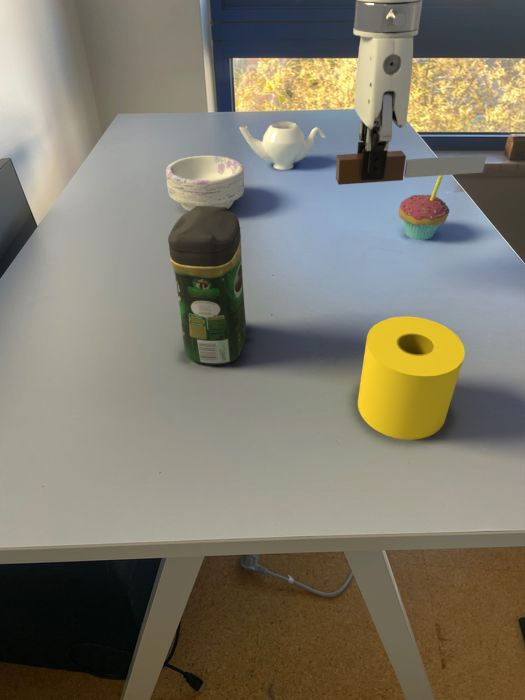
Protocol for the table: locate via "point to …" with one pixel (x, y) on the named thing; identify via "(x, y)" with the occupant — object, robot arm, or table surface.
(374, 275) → the table surface
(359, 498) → the table surface
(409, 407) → the tape roll
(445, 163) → the knife
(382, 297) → the table surface
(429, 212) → the cupcake
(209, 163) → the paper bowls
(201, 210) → the coffee jar
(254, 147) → the teapot
